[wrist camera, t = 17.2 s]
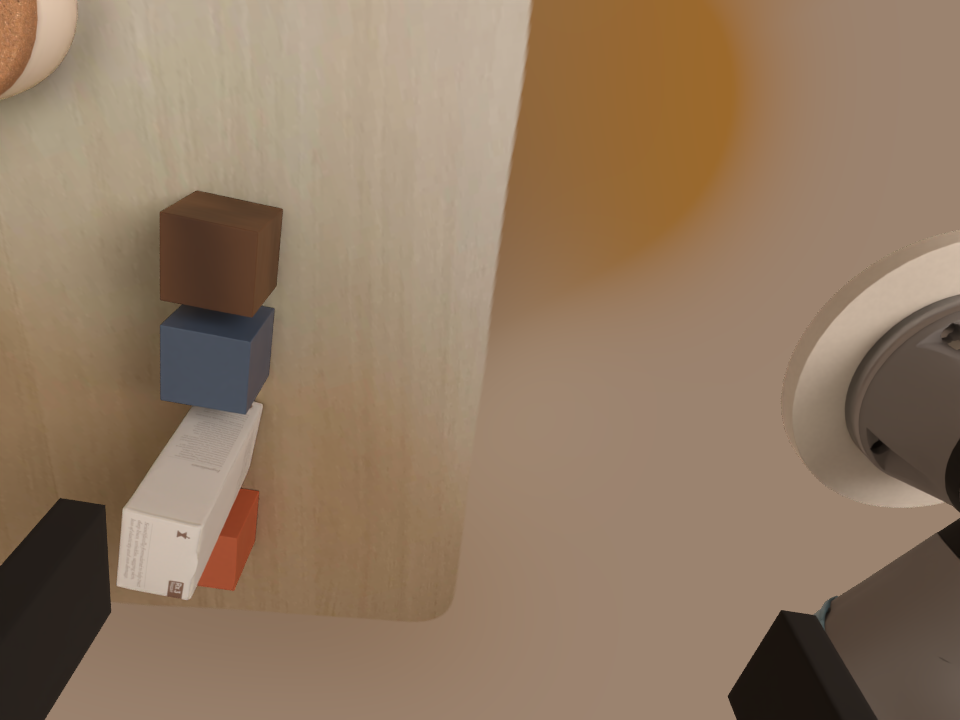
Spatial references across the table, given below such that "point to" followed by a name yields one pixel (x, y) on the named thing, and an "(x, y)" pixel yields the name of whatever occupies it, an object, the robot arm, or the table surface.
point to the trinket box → (33, 41)
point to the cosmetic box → (185, 501)
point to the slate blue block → (215, 357)
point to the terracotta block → (233, 543)
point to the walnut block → (219, 253)
